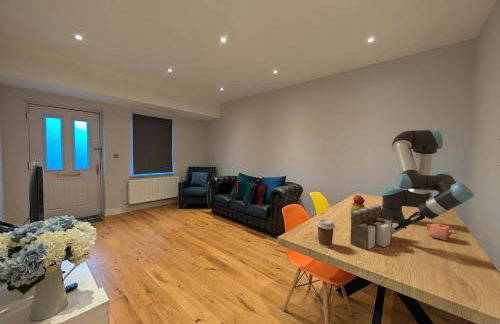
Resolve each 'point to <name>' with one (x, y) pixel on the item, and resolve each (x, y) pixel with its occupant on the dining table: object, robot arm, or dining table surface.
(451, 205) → the robot arm
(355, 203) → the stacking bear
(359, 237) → the brown slotted rack
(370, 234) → the key three
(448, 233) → the pink cube teapot
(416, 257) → the dining table surface
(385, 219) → the key one
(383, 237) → the key two
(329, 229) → the coffee cup
